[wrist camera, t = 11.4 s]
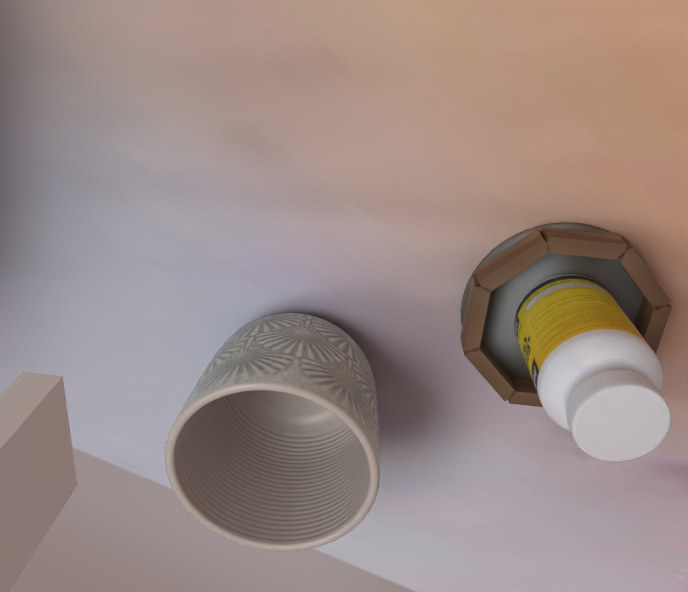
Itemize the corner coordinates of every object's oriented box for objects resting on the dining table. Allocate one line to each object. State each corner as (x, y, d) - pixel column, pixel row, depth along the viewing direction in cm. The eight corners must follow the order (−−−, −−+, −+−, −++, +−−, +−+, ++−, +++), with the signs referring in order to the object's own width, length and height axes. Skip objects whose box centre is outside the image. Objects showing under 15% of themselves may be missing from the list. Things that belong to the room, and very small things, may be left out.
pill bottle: (503, 284, 40) (542, 384, 30) (606, 259, 39) (685, 353, 29) (521, 367, 43) (564, 486, 32) (619, 346, 42) (696, 462, 31)
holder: (448, 378, 45) (450, 399, 42) (478, 213, 39) (483, 226, 37) (622, 397, 44) (635, 419, 42) (677, 232, 39) (695, 248, 36)
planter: (352, 457, 48) (341, 574, 39) (199, 411, 48) (147, 519, 38) (407, 325, 43) (410, 423, 33) (235, 271, 42) (186, 354, 32)
